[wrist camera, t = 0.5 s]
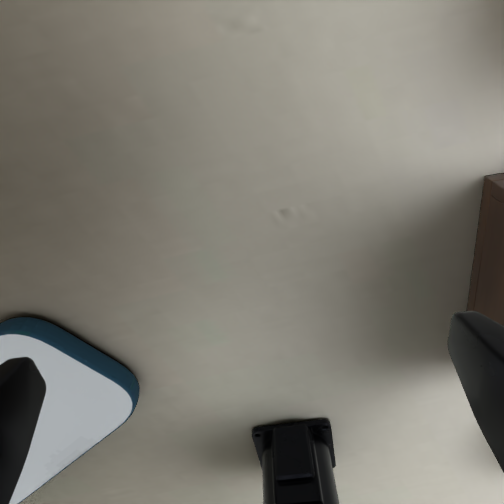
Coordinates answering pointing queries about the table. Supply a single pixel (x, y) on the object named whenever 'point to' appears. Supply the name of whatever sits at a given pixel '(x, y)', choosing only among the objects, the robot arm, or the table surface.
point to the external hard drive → (66, 397)
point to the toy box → (489, 253)
